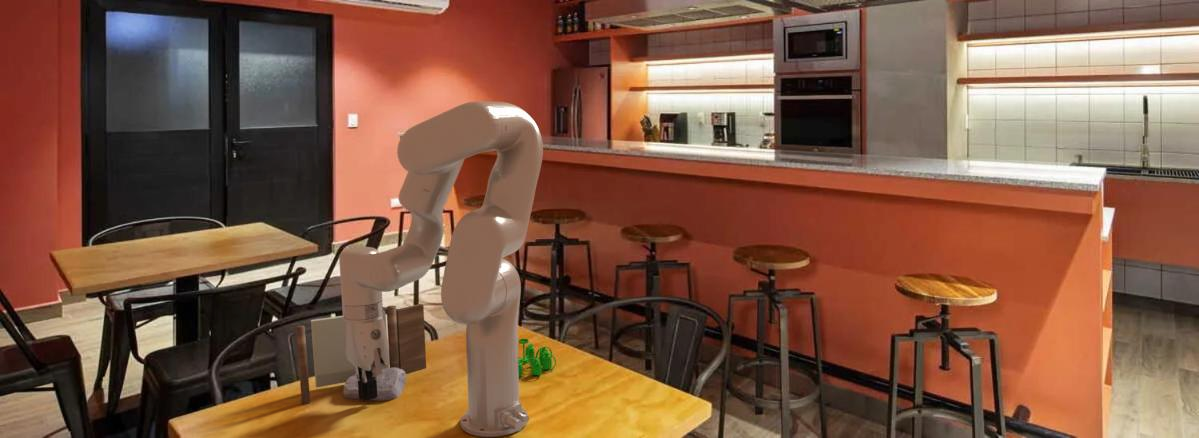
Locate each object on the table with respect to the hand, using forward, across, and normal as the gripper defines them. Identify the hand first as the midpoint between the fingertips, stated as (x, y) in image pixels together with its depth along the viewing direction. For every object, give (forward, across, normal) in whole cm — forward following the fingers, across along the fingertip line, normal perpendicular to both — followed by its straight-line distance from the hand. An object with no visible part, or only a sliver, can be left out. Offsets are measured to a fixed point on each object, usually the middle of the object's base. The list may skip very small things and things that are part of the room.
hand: (368, 398), depth 138 cm
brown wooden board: (+2, +10, -5) cm, 12 cm away
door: (+1, +13, -3) cm, 13 cm away
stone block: (+2, +5, -4) cm, 7 cm away
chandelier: (+2, -7, -35) cm, 36 cm away
